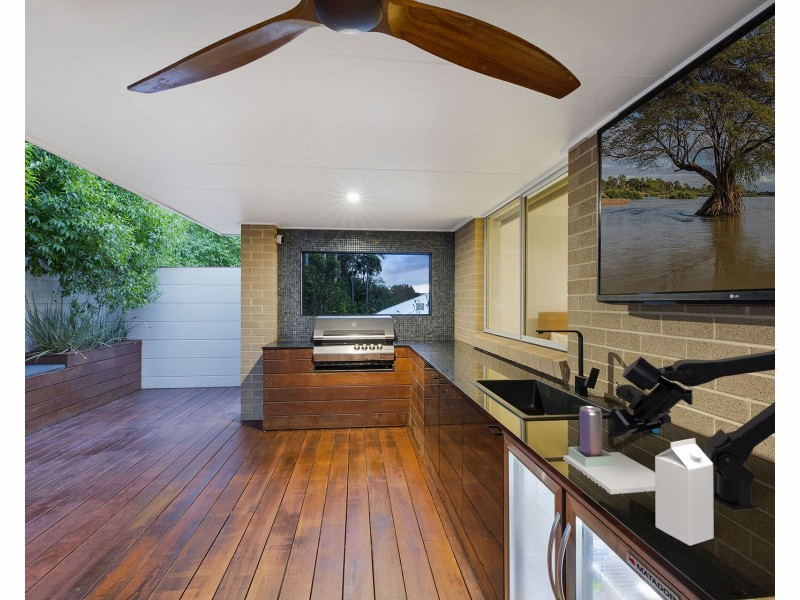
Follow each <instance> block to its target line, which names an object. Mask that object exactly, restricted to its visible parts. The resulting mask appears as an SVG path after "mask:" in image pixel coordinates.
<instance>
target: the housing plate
mask: <svg viewBox="0 0 800 600" xmlns="http://www.w3.org/2000/svg"><path fill="white" fill-rule="evenodd" d="M567 451H568V453H567V454H568V455H562V457H563V458H562V459H563V461H564V460H565V462H566V463H567V462H568V463H567V464H569V465H570V464H571V465H572V466H571V465H570V466H571V467H573V466H574V467H575V468H576V469H575V468H574V467H573V468H574V469H575V470H577V469H578V470H579V471H578V470H577V471H578V472H580V471H581V472H582V473H583V474H582V473H581V472H580V473H581V474H582V475H584V476H585V475H586V476H587V477H586V476H585V477H586V478H588V479H589V478H590V479H591V480H590V479H589V480H590V481H592V482H593V481H594V483H595V484H596V483H597V484H598V485H597V484H596V485H597V486H599V487H600V486H601V487H602V489H603V488H604V489H605V490H606V492H607V493H608V494H609V495H618V494H619V495H620V493H621V494H631V493H645V491H646V492H655V470H654V471H653V470H652V469H651V468H648V467H647V466H644V465H643V464H641V463H639V462H637V461H635V460H634V459H632V458H630V457H628V456H626V455H625V454H623V453H622V452H620V451H613V452H608V451H606V450H604V449H603V448H602V455H603V456H600V457H585V456H583V455H582V454H580V445H579V446H568V449H567ZM601 487H600V488H601ZM604 489H603V490H604ZM605 490H604V491H605Z"/></svg>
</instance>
